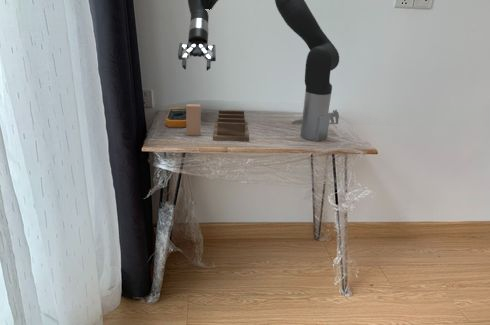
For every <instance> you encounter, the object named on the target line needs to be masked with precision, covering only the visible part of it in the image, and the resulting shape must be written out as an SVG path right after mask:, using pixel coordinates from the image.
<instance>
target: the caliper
mask: <svg viewBox="0 0 490 325" xmlns="http://www.w3.org/2000/svg"><path fill="white" fill-rule="evenodd" d="M328 113H329V114H330V122H331V124H334V122H335V123H336V124H338V123H339V118H340V114H339V111H338V110H337V109H335V110H334V109H332V111H330V112H328ZM334 117H335V120H334ZM290 123H291V124H302V118H297V119H294V120H292V121H290Z"/></svg>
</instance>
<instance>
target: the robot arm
mask: <svg viewBox="0 0 490 325" xmlns="http://www.w3.org/2000/svg"><path fill="white" fill-rule="evenodd" d="M218 1H219V0H187V3H188V8H189V12H190V24H189V28H188V39H187V40H188V41H187V44H183V42H179V45H178V50H177V57H178V60H179V61H180V60H182V61H181V65H182V66H181V67H182V69H184V70H186V69H187V62H188V61H187V60H188V59H190V58H192V57H199V58H200V57H203V58H204V60H206V71H209V70H210V69H211V64H212V62H216V59H217V58H216V53H217V52H216V44H212V45H209V44H208V43H209V16H210V15H209V12H207V11H206V10H205V9H209V10H210V9H211V10H213V8H214V6H215V5H216V4H217V2H218ZM274 4H275V7H276V8H277V11H278V13H279V14H280V16H281V17H282V19H283V21H284V22H285V24H286V25H287V26H288V27H289V28H290V29H291V31H293V32H294V33H295V34H296V35H297V36H298V37H300V38H301V40H303V41H304V43H305V44H306V46H307V47H308V49H309V52H308V53H307V56H306V61H305V67H304V68H305V69H304V70H305V71H304V84H305V93H304V100H303V101H304V102H303V110H302V117H301V119H302V123H301V127H300V133H299V134H300V137H301V138H302V139H305V140H308V141H315V142H320V141H322V140H325V139H328V132H329V129H330V128H329V127H330V122H331V120H330V114H329V113H330V112H329V110H330V105H331V104H330V103H331V97H332V90H333V85H332V83H330V77H331V71H333V70H335V69H336V68H337V67H338V65H339V64H340V63H339V62H340V53H339V51H338V49H337V48H336V46H335V45H334V44H333V43H332V41H331V40H330V39H329V38H328V36H327V35H326V34H325V32H324V31H323V29H322V28H321V26H320V25H319V23H318V21H317V19H316V17H315V16H314V14H313V13H312V11H311V9H310V8H309V6H308V4H307V2H306V1H305V0H274ZM186 49H187V50H186ZM184 51H185V53H184ZM208 51H209V52H211V53H212V54H211V55H210V54H209V52H208ZM183 53H184V54H183Z"/></svg>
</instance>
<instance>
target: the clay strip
mask: <svg viewBox="0 0 490 325" xmlns="http://www.w3.org/2000/svg"><path fill="white" fill-rule="evenodd" d="M185 108H186V124H187V127H186V136H201V135H202V124H201V123H202V119H201V118H202V116H201V115H202V114H201V113H202V109H201V108H202V105H201V104H197V103H196V104H195V103H194V104H192V103H191V104H190V103H188V104H186V105H185Z"/></svg>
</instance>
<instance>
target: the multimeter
mask: <svg viewBox="0 0 490 325" xmlns="http://www.w3.org/2000/svg"><path fill="white" fill-rule="evenodd" d="M165 124H166V126H167V127H169V128H187V124H186V107H169V110H168V113H167V116H166V118H165Z"/></svg>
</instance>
